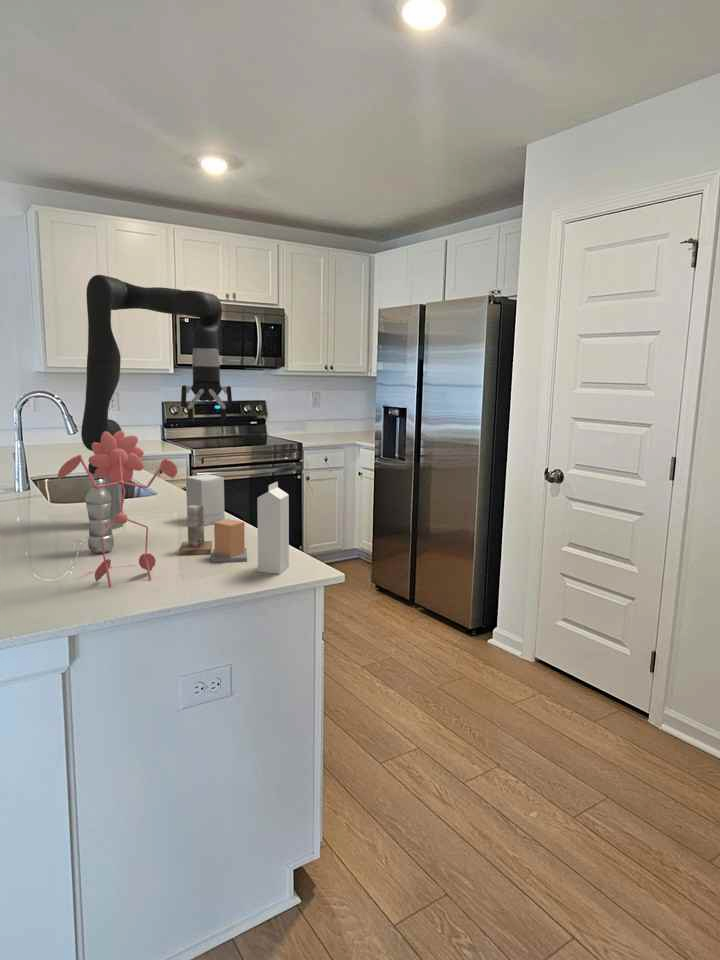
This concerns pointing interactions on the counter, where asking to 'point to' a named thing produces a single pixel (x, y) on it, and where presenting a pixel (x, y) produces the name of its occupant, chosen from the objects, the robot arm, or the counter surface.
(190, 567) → the counter surface
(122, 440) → the figurine
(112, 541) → the plastic bottle
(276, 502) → the milk
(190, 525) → the post stand
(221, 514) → the supplement box
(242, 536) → the tall orange box
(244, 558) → the mat
